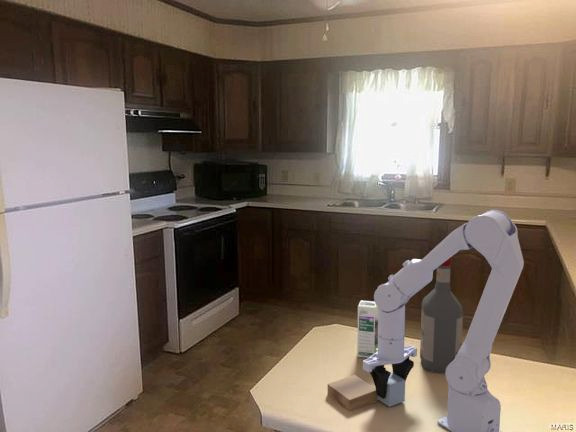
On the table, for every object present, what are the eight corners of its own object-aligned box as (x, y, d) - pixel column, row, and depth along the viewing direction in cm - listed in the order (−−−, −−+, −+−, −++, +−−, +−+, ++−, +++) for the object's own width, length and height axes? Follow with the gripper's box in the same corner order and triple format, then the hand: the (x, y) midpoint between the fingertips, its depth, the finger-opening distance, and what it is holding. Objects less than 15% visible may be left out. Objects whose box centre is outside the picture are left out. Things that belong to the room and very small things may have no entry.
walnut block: (377, 402, 104) (377, 389, 103) (349, 412, 100) (349, 399, 99) (354, 386, 110) (354, 374, 110) (327, 396, 106) (327, 383, 106)
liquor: (424, 372, 116) (428, 256, 112) (418, 356, 125) (422, 248, 121) (462, 374, 115) (467, 257, 111) (453, 358, 124) (458, 248, 120)
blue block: (404, 401, 102) (405, 380, 102) (389, 406, 100) (389, 385, 100) (390, 392, 106) (391, 371, 106) (375, 397, 104) (376, 376, 103)
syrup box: (356, 357, 125) (357, 305, 123) (359, 348, 131) (360, 299, 129) (378, 359, 123) (379, 307, 121) (380, 350, 129) (381, 300, 127)
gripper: (401, 322, 108) (400, 377, 110) (353, 336, 101) (353, 394, 103) (424, 332, 102) (423, 389, 104) (375, 347, 95) (374, 409, 97)
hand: (389, 393), depth 103 cm, fingers closed on blue block, 5 cm apart
